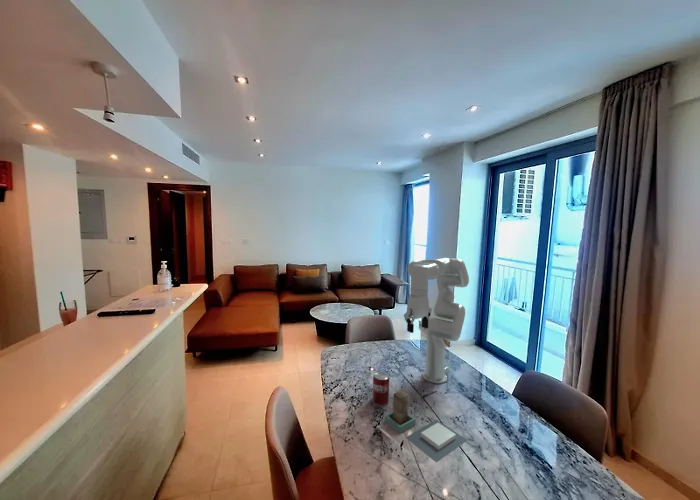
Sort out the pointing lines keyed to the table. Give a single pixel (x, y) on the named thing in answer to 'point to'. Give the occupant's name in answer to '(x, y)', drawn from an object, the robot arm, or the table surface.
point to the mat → (429, 448)
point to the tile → (438, 435)
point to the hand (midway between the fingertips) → (417, 329)
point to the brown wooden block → (400, 407)
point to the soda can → (380, 388)
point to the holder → (396, 426)
